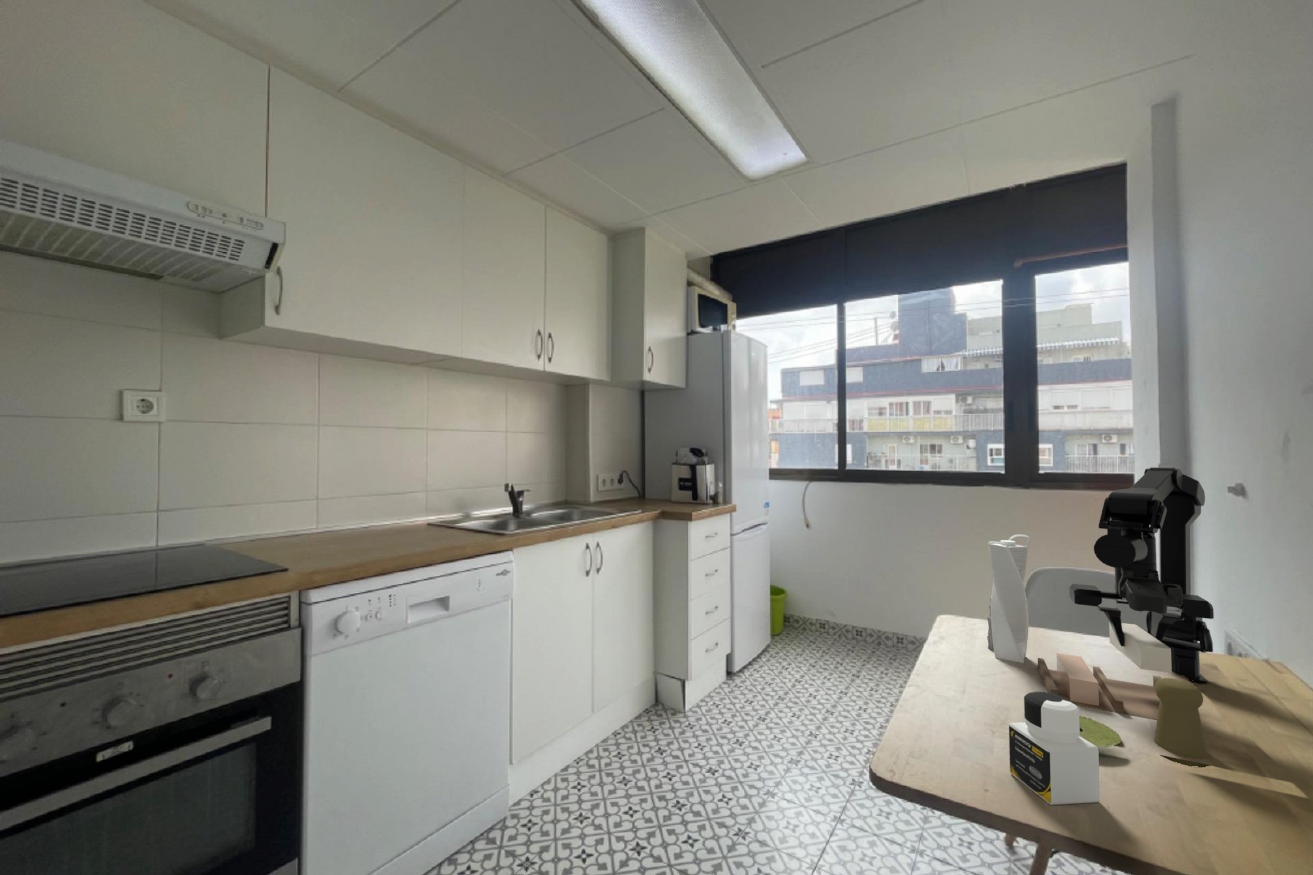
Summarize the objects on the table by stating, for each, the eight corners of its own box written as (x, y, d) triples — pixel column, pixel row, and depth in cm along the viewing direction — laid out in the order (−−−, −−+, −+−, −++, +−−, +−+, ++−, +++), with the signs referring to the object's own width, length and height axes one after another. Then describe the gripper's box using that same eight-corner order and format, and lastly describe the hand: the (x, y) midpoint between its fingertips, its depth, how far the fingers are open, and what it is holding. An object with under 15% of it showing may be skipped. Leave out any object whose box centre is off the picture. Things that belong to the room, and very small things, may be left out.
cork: (1221, 769, 76) (1218, 691, 76) (1172, 764, 77) (1169, 688, 77) (1188, 747, 82) (1185, 674, 82) (1143, 742, 83) (1140, 671, 83)
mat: (1015, 729, 87) (1015, 717, 87) (1057, 716, 91) (1057, 704, 91) (1094, 765, 77) (1093, 752, 77) (1137, 749, 81) (1137, 736, 81)
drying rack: (1038, 673, 110) (1037, 657, 110) (1160, 693, 100) (1160, 676, 100) (1051, 706, 95) (1050, 688, 95) (1196, 734, 85) (1195, 714, 86)
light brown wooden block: (1057, 672, 107) (1056, 652, 107) (1082, 677, 105) (1081, 656, 105) (1070, 700, 95) (1069, 677, 95) (1098, 705, 93) (1098, 682, 93)
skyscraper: (1032, 659, 117) (1029, 532, 118) (1034, 672, 110) (1031, 537, 111) (987, 652, 121) (984, 530, 122) (987, 663, 114) (984, 534, 116)
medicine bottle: (1008, 773, 75) (1006, 687, 75) (1055, 770, 75) (1053, 685, 76) (1050, 806, 68) (1047, 711, 68) (1101, 803, 68) (1098, 709, 69)
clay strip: (1109, 642, 103) (1109, 621, 103) (1136, 645, 101) (1135, 624, 101) (1141, 669, 90) (1140, 645, 90) (1171, 672, 88) (1170, 648, 88)
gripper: (1079, 564, 94) (1082, 652, 93) (1226, 575, 85) (1230, 674, 84) (1067, 554, 103) (1070, 634, 103) (1198, 563, 94) (1201, 651, 94)
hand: (1137, 647), depth 96 cm, fingers closed on clay strip, 4 cm apart
